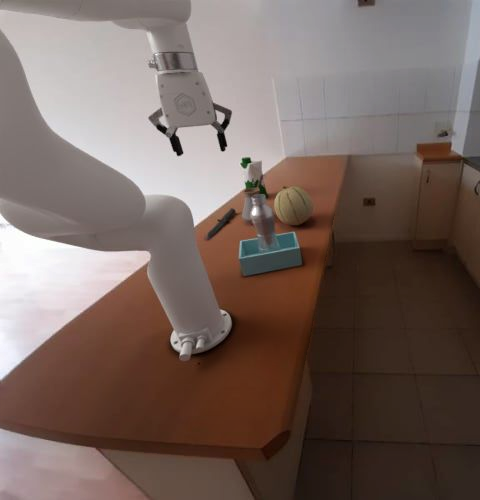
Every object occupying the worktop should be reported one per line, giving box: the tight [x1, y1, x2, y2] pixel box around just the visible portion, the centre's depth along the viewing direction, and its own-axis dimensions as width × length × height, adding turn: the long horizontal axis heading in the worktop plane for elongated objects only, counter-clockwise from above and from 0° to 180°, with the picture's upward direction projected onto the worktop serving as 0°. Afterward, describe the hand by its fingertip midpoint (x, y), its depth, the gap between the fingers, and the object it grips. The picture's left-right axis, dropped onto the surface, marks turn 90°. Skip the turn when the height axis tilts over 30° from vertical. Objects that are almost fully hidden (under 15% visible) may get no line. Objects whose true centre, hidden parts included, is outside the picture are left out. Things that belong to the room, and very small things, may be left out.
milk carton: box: [238, 156, 268, 198], centre depth 134 cm, size 9×9×20 cm
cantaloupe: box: [273, 185, 314, 226], centre depth 106 cm, size 15×15×15 cm
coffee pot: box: [241, 174, 267, 225], centre depth 115 cm, size 21×12×15 cm, turn 174°
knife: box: [206, 207, 236, 240], centre depth 112 cm, size 24×5×3 cm, turn 168°
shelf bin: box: [238, 231, 303, 277], centre depth 85 cm, size 11×17×6 cm, turn 104°
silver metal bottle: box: [250, 194, 281, 254], centre depth 81 cm, size 6×7×20 cm
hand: (202, 152), depth 65 cm, fingers open, 9 cm apart
